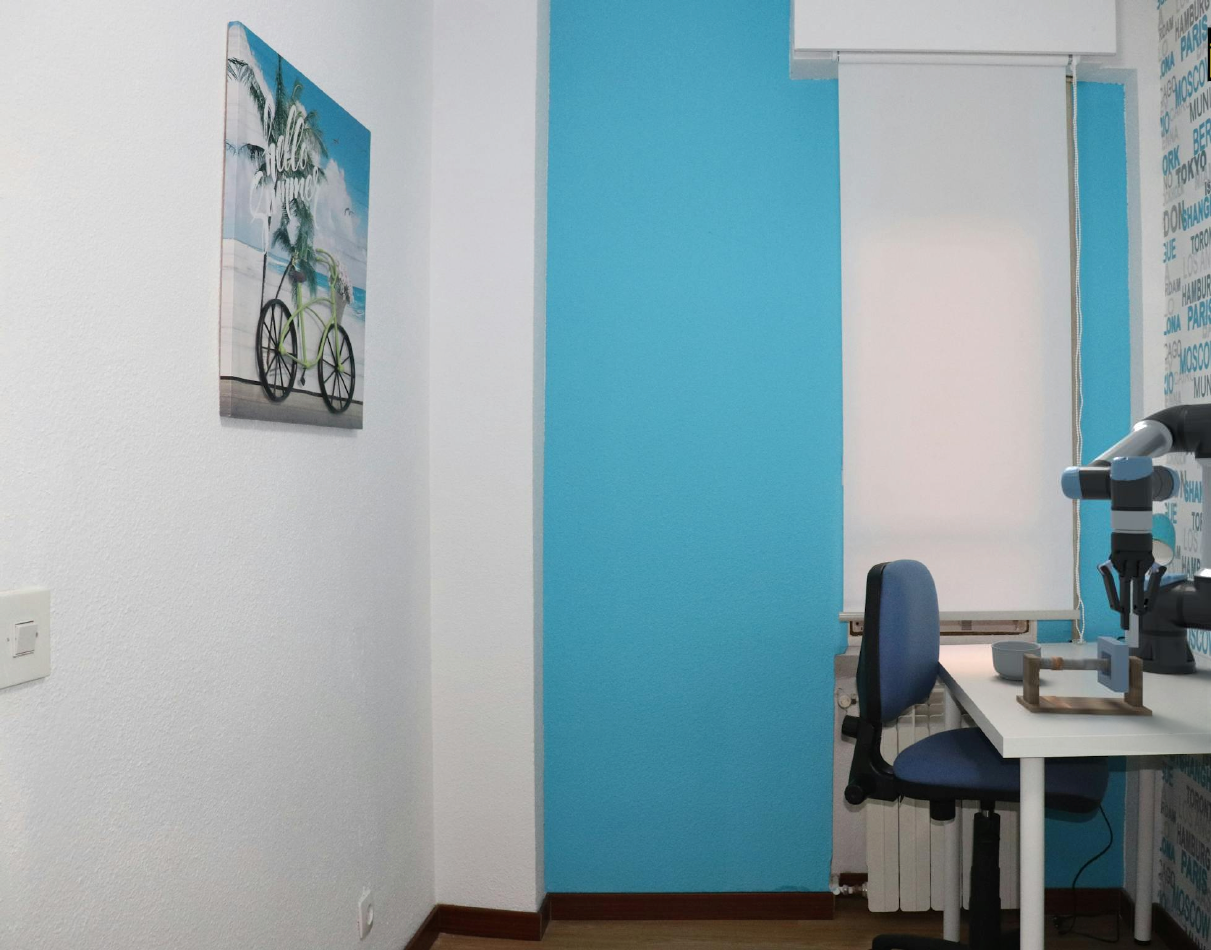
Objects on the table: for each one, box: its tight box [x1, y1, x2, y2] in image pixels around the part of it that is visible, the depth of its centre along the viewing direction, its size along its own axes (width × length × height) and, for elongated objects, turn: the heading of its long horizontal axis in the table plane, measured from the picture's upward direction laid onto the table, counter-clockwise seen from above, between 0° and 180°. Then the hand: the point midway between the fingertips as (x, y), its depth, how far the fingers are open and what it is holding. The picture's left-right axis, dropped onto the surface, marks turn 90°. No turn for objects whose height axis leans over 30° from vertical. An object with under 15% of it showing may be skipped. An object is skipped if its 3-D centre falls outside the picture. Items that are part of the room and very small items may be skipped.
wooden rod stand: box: [1015, 654, 1153, 717], centre depth 192 cm, size 23×10×10 cm, turn 82°
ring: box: [1096, 636, 1129, 694], centre depth 192 cm, size 2×9×10 cm, turn 172°
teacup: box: [990, 639, 1042, 681], centre depth 221 cm, size 14×11×8 cm
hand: (1131, 646), depth 191 cm, fingers closed
